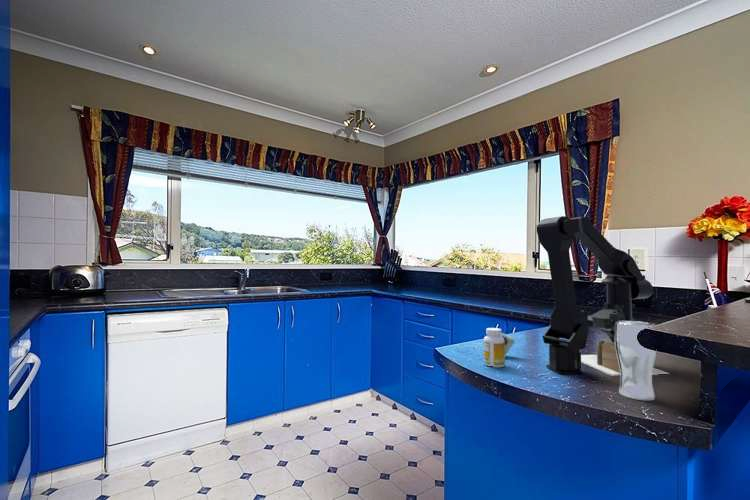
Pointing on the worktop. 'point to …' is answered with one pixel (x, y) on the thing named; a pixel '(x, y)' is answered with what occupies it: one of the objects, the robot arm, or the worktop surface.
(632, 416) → the worktop surface
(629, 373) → the beer glass
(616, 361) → the fixed fence
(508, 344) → the pig figurine
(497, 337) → the supplement bottle
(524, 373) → the worktop surface
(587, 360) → the card
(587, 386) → the worktop surface
